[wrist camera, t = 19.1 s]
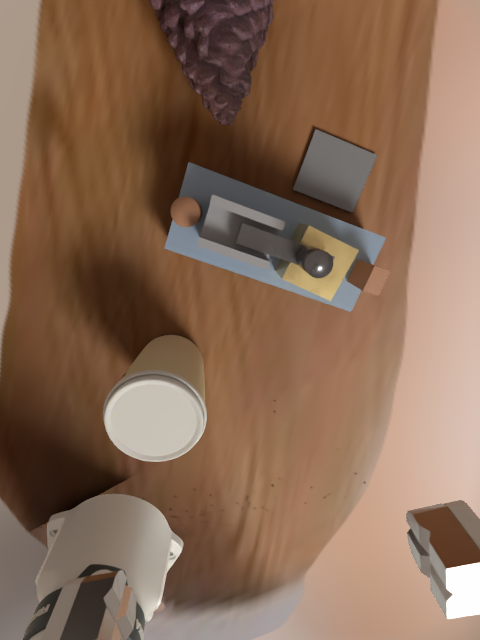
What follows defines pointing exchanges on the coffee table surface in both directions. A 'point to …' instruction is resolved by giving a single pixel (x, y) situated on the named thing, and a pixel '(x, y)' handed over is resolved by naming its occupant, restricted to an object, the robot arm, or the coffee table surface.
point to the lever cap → (320, 240)
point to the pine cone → (216, 47)
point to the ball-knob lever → (286, 250)
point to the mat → (334, 171)
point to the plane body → (269, 215)
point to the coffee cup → (159, 401)
